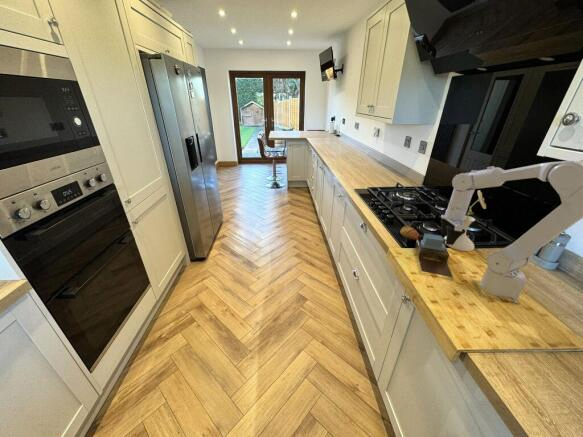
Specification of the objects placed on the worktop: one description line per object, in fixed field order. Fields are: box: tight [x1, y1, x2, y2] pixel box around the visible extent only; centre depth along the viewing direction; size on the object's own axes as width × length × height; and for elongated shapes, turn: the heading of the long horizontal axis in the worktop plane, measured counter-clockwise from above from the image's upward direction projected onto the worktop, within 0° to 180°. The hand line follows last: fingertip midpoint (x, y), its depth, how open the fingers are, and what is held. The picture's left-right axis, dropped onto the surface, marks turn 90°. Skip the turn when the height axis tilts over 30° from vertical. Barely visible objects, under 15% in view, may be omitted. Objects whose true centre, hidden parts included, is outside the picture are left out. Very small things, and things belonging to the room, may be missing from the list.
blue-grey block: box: [421, 233, 447, 251], centre depth 92 cm, size 8×4×4 cm, turn 71°
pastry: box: [399, 225, 421, 241], centre depth 108 cm, size 9×7×4 cm
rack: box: [414, 234, 454, 278], centre depth 90 cm, size 10×18×6 cm, turn 161°
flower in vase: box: [443, 190, 487, 252], centre depth 97 cm, size 13×11×25 cm
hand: (446, 239), depth 89 cm, fingers open, 7 cm apart
